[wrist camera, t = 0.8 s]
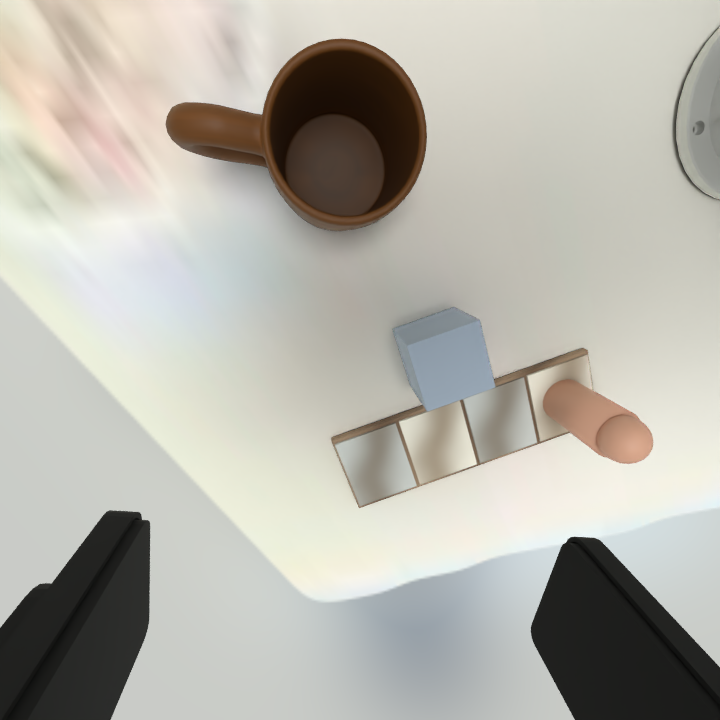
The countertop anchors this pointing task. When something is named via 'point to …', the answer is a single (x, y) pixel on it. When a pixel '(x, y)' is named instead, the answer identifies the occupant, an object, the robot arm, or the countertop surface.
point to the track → (456, 432)
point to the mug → (323, 134)
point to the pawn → (598, 422)
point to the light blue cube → (445, 357)
